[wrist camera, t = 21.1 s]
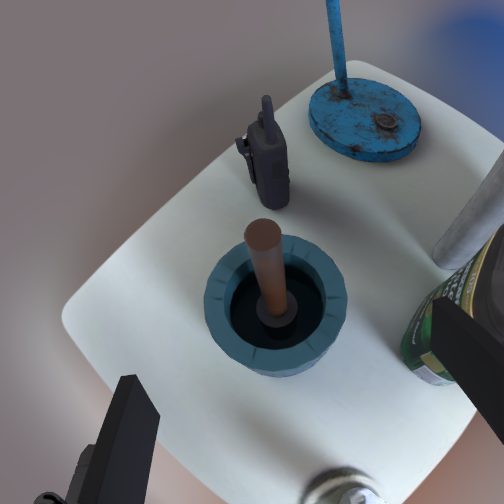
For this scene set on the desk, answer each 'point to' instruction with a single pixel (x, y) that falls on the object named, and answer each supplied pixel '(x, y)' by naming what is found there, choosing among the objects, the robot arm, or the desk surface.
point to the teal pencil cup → (247, 321)
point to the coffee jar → (469, 299)
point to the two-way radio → (267, 157)
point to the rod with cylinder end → (271, 279)
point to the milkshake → (360, 497)
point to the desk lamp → (361, 110)
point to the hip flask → (474, 222)
